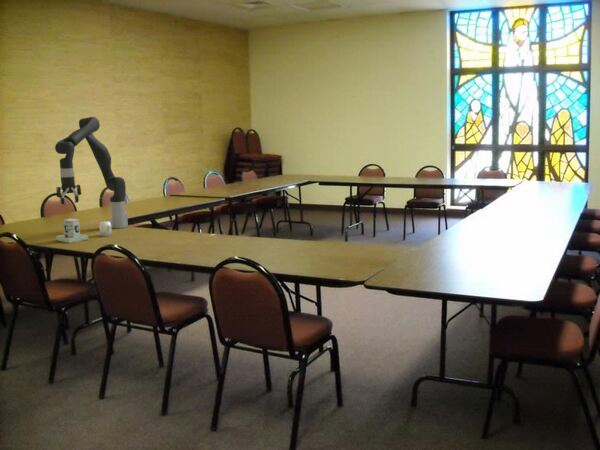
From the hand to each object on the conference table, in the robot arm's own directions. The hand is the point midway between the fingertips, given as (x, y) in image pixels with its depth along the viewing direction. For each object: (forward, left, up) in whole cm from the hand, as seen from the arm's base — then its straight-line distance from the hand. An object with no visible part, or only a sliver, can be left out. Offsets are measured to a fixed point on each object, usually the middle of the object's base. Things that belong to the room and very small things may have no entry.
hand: (69, 203), depth 383 cm
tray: (+1, 0, -22) cm, 22 cm away
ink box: (0, 0, -22) cm, 22 cm away
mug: (-20, +3, -22) cm, 30 cm away
